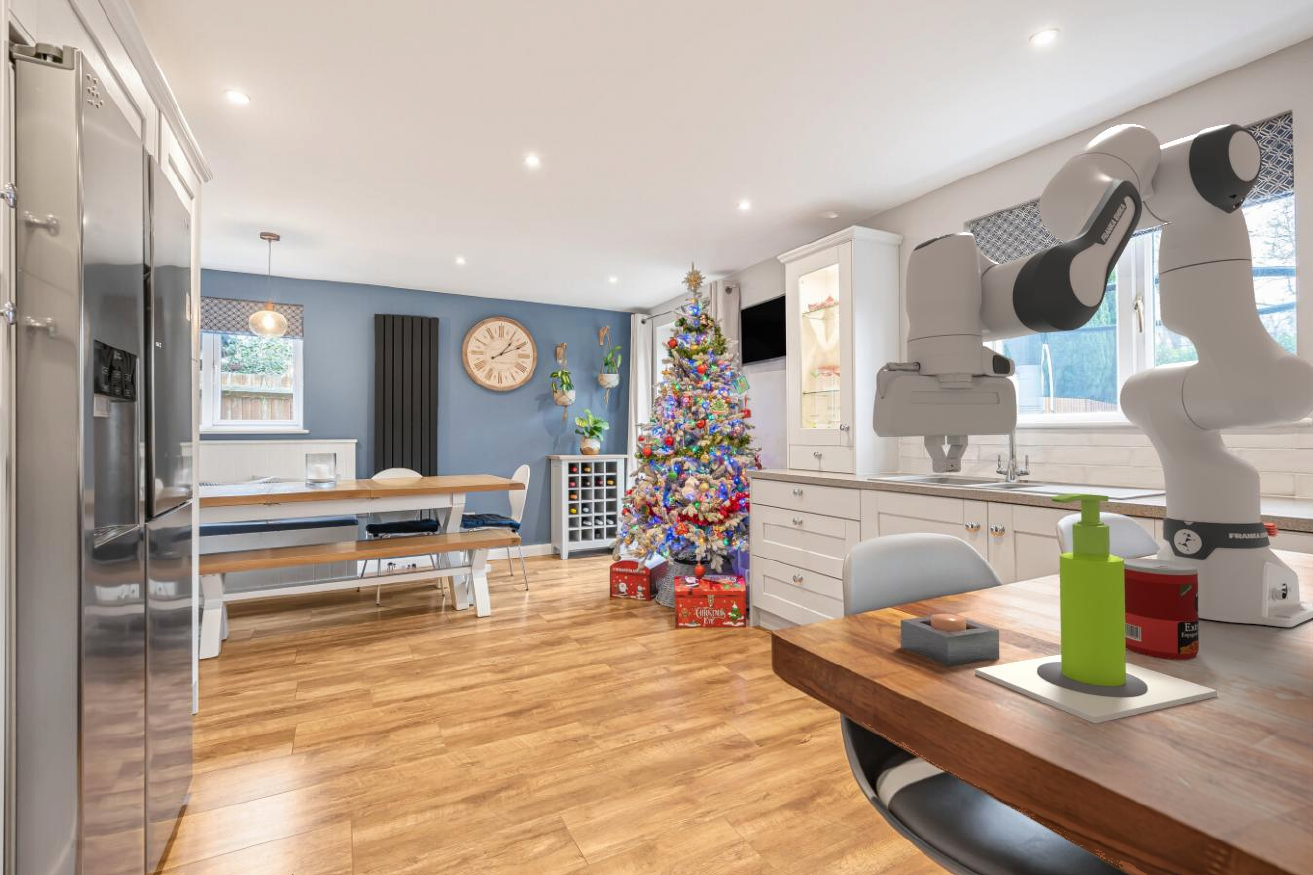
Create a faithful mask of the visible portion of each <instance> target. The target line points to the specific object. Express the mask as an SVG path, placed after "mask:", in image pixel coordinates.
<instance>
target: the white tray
mask: <svg viewBox="0 0 1313 875" xmlns="http://www.w3.org/2000/svg"><path fill="white" fill-rule="evenodd" d="M974 675H976V676H979V677H980V678H983V679H986V680H988V681H990V682H993V683H995V684H998V685H1000V686H1003V687H1005V688H1007V689H1009V690H1010V689H1011V690H1012V691H1015V692H1018V693H1020V694H1021V695H1024V696H1027V697H1029V698H1031V699H1034V700H1037V701H1040V702H1042V703H1044V704H1046V705H1049V706H1051V707H1053V708H1056V709H1059V710H1061V711H1064V712H1066V713H1068V714H1070V715H1073V716H1076V717H1078V718H1080V719H1083V720H1085V721H1087V722H1090V723H1092V724H1095V725H1096V724H1100V723H1103V722H1110V721H1113V720H1117V719H1121V718H1126V717H1131V716H1136V715H1139V714H1145V713H1149V712H1153V711H1158V710H1162V709H1167V708H1172V707H1175V706H1180V705H1185V704H1189V703H1193V702H1197V701H1202V700H1208V699H1211V698H1215V697H1216V698H1217V697H1218V690H1216V689H1213V688H1211V687H1207V686H1205V685H1201V684H1198V683H1195V682H1191V681H1187V680H1184V679H1181V678H1177V677H1175V676H1171V675H1168V674H1165V673H1162V672H1158V671H1155V670H1152V669H1149V668H1145V667H1142V666H1139V665H1136V664H1133V663H1129V662H1126V683H1125V684H1124V685H1120V686H1098V685H1092V684H1087V683H1082V682H1079V681H1076V680H1073V679H1070V678H1068V677H1066V676H1065V675H1063V674H1062V672H1061V654H1056V655H1049V656H1044V657H1039V658H1033V659H1028V660H1019V661H1015V662H1007V663H1003V664H1002V663H1001V664H996V665H992V666H991V665H990V666H984V667H979V668H974Z"/></svg>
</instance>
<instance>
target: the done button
mask: <svg viewBox="0 0 1313 875" xmlns="http://www.w3.org/2000/svg"><path fill="white" fill-rule="evenodd" d="M930 616H931V627H934V628H937V629H940V630H943V631H945V632H955V631H962V630H966V620H967V619H966V618H965V617H963V616H961V615H956V614H950V613H937V614H932V615H930Z"/></svg>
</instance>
